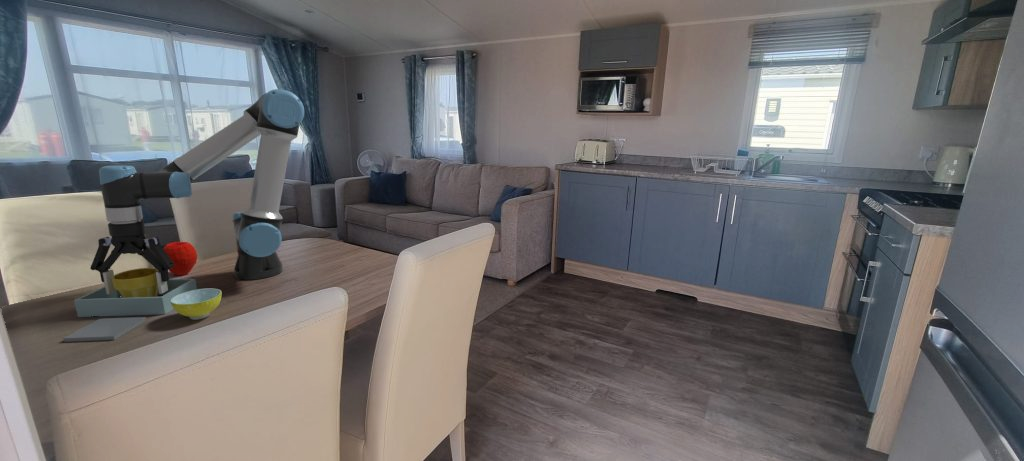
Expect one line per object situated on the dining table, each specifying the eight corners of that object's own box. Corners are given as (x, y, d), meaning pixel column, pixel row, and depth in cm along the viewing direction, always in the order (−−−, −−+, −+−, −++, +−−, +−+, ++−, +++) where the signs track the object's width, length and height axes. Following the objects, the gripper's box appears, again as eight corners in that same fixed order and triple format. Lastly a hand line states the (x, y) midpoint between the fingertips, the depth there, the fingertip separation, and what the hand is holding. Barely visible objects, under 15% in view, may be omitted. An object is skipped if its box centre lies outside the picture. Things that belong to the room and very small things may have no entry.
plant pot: (137, 313, 117) (131, 280, 115) (108, 309, 119) (101, 277, 117) (173, 299, 127) (168, 269, 125) (146, 296, 129) (140, 266, 127)
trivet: (146, 320, 113) (145, 317, 113) (114, 339, 103) (113, 336, 103) (100, 322, 112) (100, 318, 112) (63, 342, 101) (63, 338, 101)
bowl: (167, 328, 109) (163, 306, 108) (181, 311, 119) (177, 291, 118) (219, 321, 114) (216, 300, 112) (228, 305, 124) (225, 286, 122)
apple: (206, 270, 154) (202, 238, 151) (181, 279, 144) (176, 245, 141) (183, 268, 155) (178, 236, 152) (157, 277, 146) (151, 243, 143)
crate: (197, 293, 132) (195, 278, 131) (165, 314, 117) (162, 297, 116) (121, 295, 129) (117, 280, 128) (77, 317, 114) (73, 300, 113)
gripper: (182, 218, 123) (192, 287, 128) (87, 218, 119) (100, 288, 124) (165, 224, 116) (176, 296, 120) (63, 223, 112) (78, 297, 117)
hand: (137, 292), depth 122 cm, fingers open, 13 cm apart
